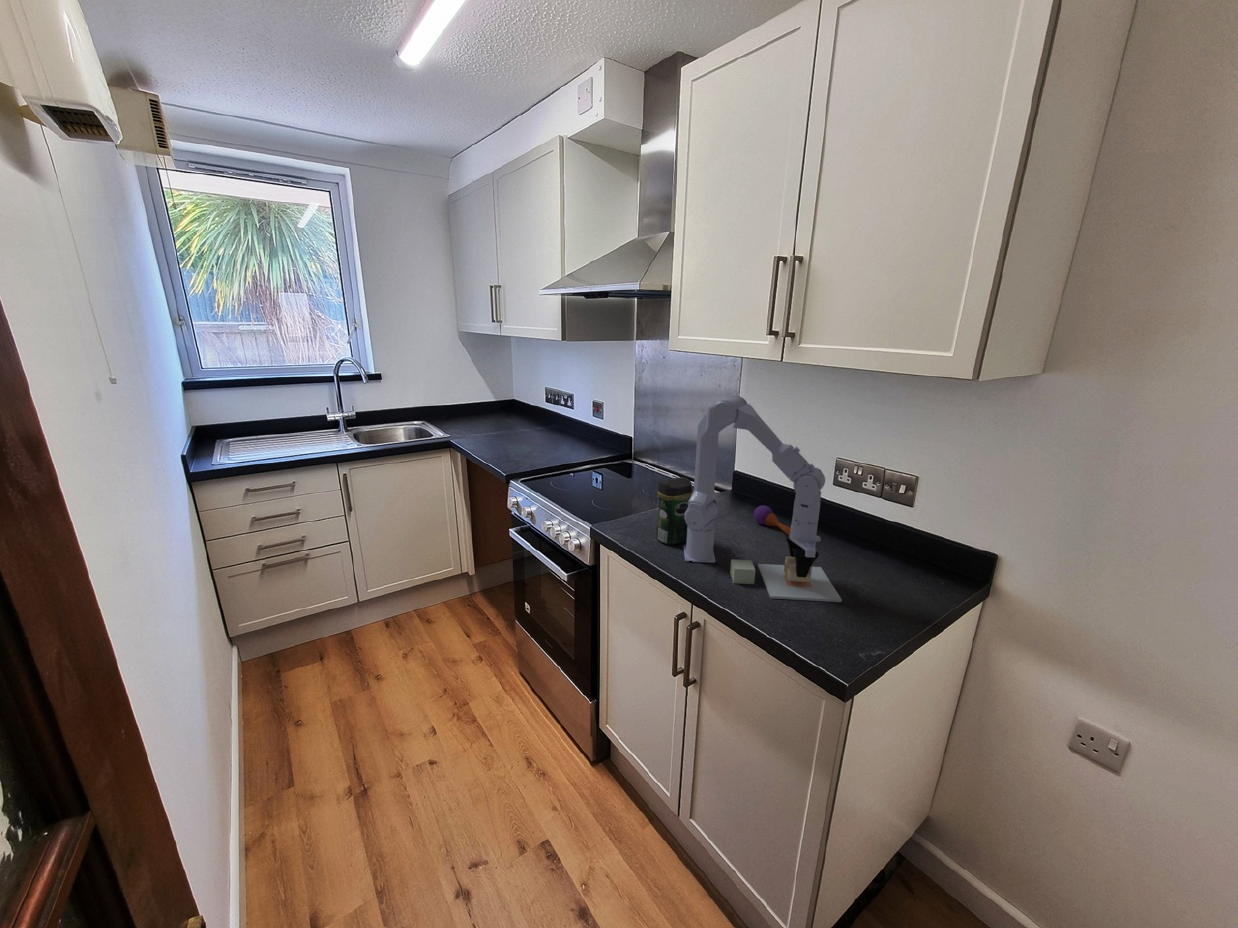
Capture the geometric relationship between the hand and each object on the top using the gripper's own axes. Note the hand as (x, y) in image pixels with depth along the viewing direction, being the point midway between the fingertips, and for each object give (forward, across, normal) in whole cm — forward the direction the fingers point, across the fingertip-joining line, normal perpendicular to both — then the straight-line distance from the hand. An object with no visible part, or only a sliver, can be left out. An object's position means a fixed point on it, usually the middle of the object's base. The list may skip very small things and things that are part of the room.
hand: (798, 571), depth 124 cm
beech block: (+1, 0, 0) cm, 1 cm away
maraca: (+4, +32, -2) cm, 32 cm away
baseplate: (+3, 0, 0) cm, 3 cm away
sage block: (+3, +1, +13) cm, 14 cm away
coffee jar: (+3, +22, +30) cm, 37 cm away
